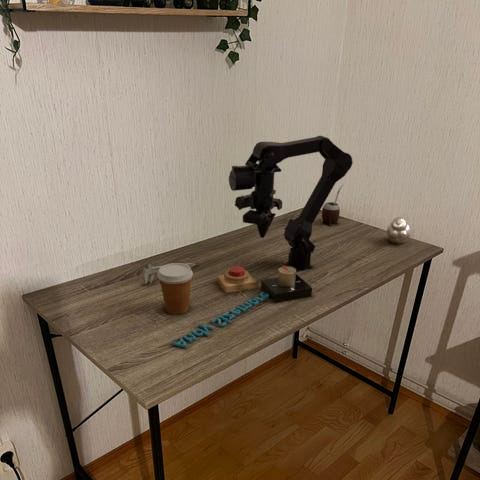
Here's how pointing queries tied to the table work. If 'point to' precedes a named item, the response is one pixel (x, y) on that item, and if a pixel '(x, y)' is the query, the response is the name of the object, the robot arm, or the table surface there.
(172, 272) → the disposable coffee cup
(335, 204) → the mate gourd
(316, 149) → the robot arm
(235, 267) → the button
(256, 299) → the nameplate
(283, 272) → the knob
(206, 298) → the table surface
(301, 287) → the dial console
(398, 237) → the silver spiral shell
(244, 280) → the button block
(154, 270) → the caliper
